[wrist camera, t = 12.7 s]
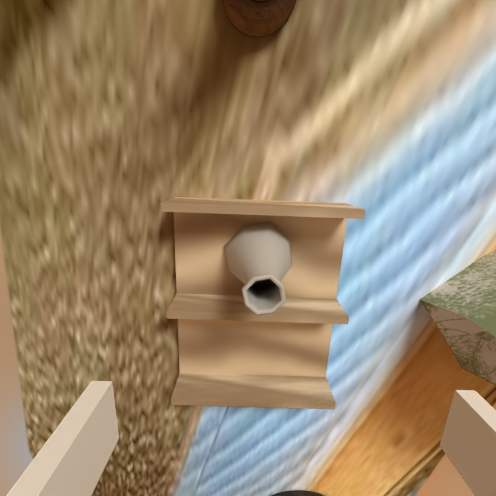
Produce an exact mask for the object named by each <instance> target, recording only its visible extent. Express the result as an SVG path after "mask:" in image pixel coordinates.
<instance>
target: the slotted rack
mask: <svg viewBox="0 0 496 496" xmlns="http://www.w3.org/2000/svg"><path fill="white" fill-rule="evenodd" d="M161 212H174V237H175V264H176V290H177V294H176V296H175V297H174V299H173V301H172V303H171V304H170V306H169V308H168V309H167V311H166V312H167V319H178V342H179V368H180V373H179V376H178V379H177V382H176V385H175V388H174V391H173V394H172V397H171V405H199V406H236V407H272V408H309V409H335V404H336V403H335V400H334V398H333V395H332V392H331V390H330V387H329V385H328V382H327V379H326V370H327V362H328V355H329V348H330V340H331V333H332V326H333V324H348V320H349V316H348V315H347V314H346V312H345V311H344V309H343V308H342V306H341V305H340V303H339V302H338V301H337V299H336V297H337V289H338V282H339V275H340V267H341V260H342V253H343V245H344V238H345V231H346V223H347V218H354V219H364V216H365V210H364V209H361V208H358V207H355V206H352V205H349V204H346V203H326V202H299V201H271V200H244V199H216V198H189V197H175V198H172V199H169V200H166V201H164V202H161ZM266 222H271V223H272V224H273V225H274V226H275V227H276V228H277V229H278V230H279V231H280V232H281V233H282V234H283V235H284V236H285V237H286V238H287V239H288V240H289V241H290V249H291V257H292V265H293V266H292V267H291V269H290V270H289V271H288V272H287V273H286V274H285V276H284V277H283V279H282V280H281V283H282V284H283V285H284V290H285V297H286V303H284V304H283V305H282V306H281V307H280V308H279V309H278V310H277V311H276V312H275V313H272V314H265V315H258V316H257V315H256V314H255V313H253V312H252V311H251V310H250V309H249V308H248V307H246V306H245V304H244V298H243V293H242V287H243V286H244V285H245V284H244V283H243V282H241V281H240V280H239V279H238V278H237V277H236V276H235V275H233V274H232V273H231V272H230V271H229V267H228V262H227V257H226V252H225V247H224V245H225V244H226V243H227V242H228V241H229V240H230V239H231V238H232V237H233V236H234V235H235V234H236V233H237V232H238V231H239V230H240V229H241V228H242V227H243V226H247V225H254V224H260V223H266Z"/></svg>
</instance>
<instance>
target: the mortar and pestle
mask: <svg viewBox="0 0 496 496" xmlns="http://www.w3.org/2000/svg"><path fill="white" fill-rule="evenodd" d="M223 3H224V7H225V10H226V13H227V15H228V17H229V19H230V21H231V22H232V23H233V25H234V26H235V27H236V28H237V29H238V30H240V31H241V32H243V33H245V34H247V35H249V36H253V37H262V36H267V35H269V34H272V33H274V32H275V31H277V30H278V29H280V28H281V27H282V26H283V25H284V24H285V22H286V21H287V20H288V18H289V17H290V15H291V13H292V11H293V9H294V6H295V3H296V0H223Z"/></svg>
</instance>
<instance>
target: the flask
mask: <svg viewBox="0 0 496 496" xmlns="http://www.w3.org/2000/svg"><path fill="white" fill-rule="evenodd" d="M224 247H225V252H226V257H227V262H228V267H229V271H230V272H231V273H232V274H233V275H235V276H236V277H237V278H238V279H239V280H240V281H241V282H243V283H244V284H245V285H244V286H243V287H242V293H243V298H244V304H245V306H246V307H248V308H249V309H250V310H251V311H252V312H253V313H255V314H256V315H257V316H258V315H265V314H272V313H275V312H276V311H277V310H278V309H279V308H280V307H281V306H282V305H283V304H284V303H286V297H285V290H284V285H283V284H282V283H281V280H282V279H283V277H284V276H285V274H286V273H287V272H288V271H289V270H290V269H291V267H292V266H293V265H292V257H291V249H290V241H289V240H288V239H287V238H286V237H285V236H284V235H283V234H282V233H281V232H280V231H279V230H278V229H277V228H276V227H275V226H274V225H273V224H272V223H271V222H266V223H260V224H254V225H247V226H243V227H242V228H241V229H240V230H239V231H238V232H237V233H236V234H235V235H234V236H233V237H232V238H231V239H230V240H229V241H228V242H227V243H226V244H225V245H224Z"/></svg>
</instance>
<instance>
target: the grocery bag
mask: <svg viewBox="0 0 496 496" xmlns="http://www.w3.org/2000/svg"><path fill="white" fill-rule="evenodd" d="M420 300H421V301H422V302H423V304H424V306H425V307H426V309H427V311H428V312H429V314H430V315H431V317H432V319H433V320H434V322H435V324H436V325H437V327H438V329H439V330H440V332H441V333H442V335H443V337H444V338H445V340H446V342H447V343H448V345H449V347H450V348H451V350H452V351H453V353H454V355H455V356H456V358H457V360H458V361H459V363H460V365H461V366H462V367H461V368H463V369H465V370H467V371H469V372H471V373H473V374H475V375H477V376H479V377H481V378H483V379H485V380H487V381H489V382H491V383H493V384H495V385H496V250H494V251H492V252H490V253H488V254H486V255H484V256H483V257H481V258H480V259H478V260H477V261H475V262H474V263H472V264H471V265H469V266H468V267H467V268H465V269H464V270H462V271H461V272H459V273H458V274H456V275H455V276H453V277H452V278H451V279H449V280H448V281H446V282H445V283H443V284H442V285H440V286H439V287H437V288H436V289H435V290H433V291H432V292H430V293H429V294H427V295H426V296H424V297H423V298H421V299H420Z"/></svg>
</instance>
